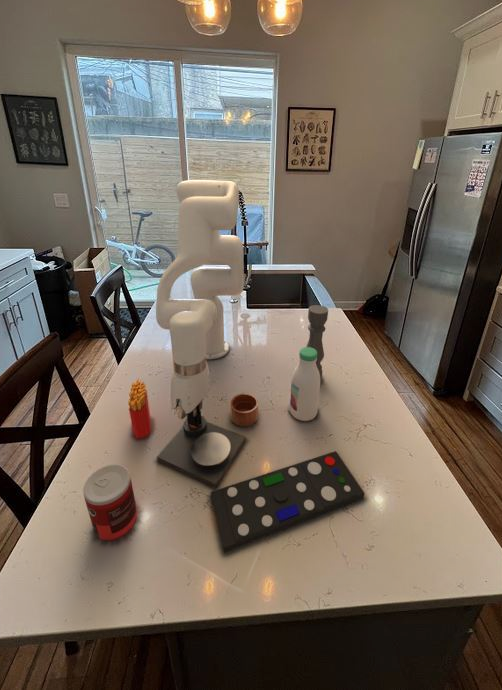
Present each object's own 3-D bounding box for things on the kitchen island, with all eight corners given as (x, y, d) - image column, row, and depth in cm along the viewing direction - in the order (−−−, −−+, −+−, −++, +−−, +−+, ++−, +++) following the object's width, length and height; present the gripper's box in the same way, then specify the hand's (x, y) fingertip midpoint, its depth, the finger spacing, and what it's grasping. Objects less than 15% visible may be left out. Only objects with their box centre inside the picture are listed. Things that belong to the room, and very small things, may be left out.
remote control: (363, 497, 70) (364, 491, 69) (224, 552, 60) (223, 545, 59) (335, 455, 79) (336, 449, 78) (211, 496, 69) (210, 490, 68)
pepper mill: (321, 386, 102) (328, 315, 93) (301, 383, 104) (306, 312, 94) (321, 374, 108) (329, 305, 98) (303, 371, 109) (308, 303, 99)
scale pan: (182, 457, 74) (182, 455, 74) (205, 428, 82) (205, 427, 82) (217, 472, 71) (217, 471, 71) (237, 441, 79) (237, 440, 79)
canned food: (102, 503, 67) (92, 465, 63) (142, 500, 68) (135, 462, 64) (87, 544, 60) (74, 504, 56) (131, 541, 61) (123, 501, 57)
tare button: (187, 429, 84) (187, 424, 83) (193, 421, 86) (193, 417, 85) (196, 433, 83) (196, 428, 82) (202, 425, 85) (202, 420, 84)
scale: (157, 461, 77) (156, 451, 76) (192, 420, 89) (192, 411, 87) (215, 488, 71) (215, 479, 70) (245, 440, 83) (245, 431, 81)
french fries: (134, 417, 89) (127, 378, 84) (151, 414, 90) (145, 375, 85) (133, 444, 81) (125, 403, 76) (151, 440, 82) (145, 399, 77)
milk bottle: (319, 405, 95) (325, 346, 87) (314, 425, 88) (320, 362, 80) (293, 399, 97) (297, 341, 89) (286, 417, 90) (290, 356, 82)
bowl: (225, 421, 88) (225, 407, 86) (238, 404, 95) (238, 390, 93) (250, 431, 86) (250, 416, 84) (262, 412, 92) (262, 398, 90)
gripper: (195, 343, 84) (199, 400, 91) (155, 376, 72) (163, 439, 79) (220, 350, 81) (222, 408, 88) (183, 386, 69) (189, 450, 76)
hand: (194, 423), depth 84 cm, fingers closed
